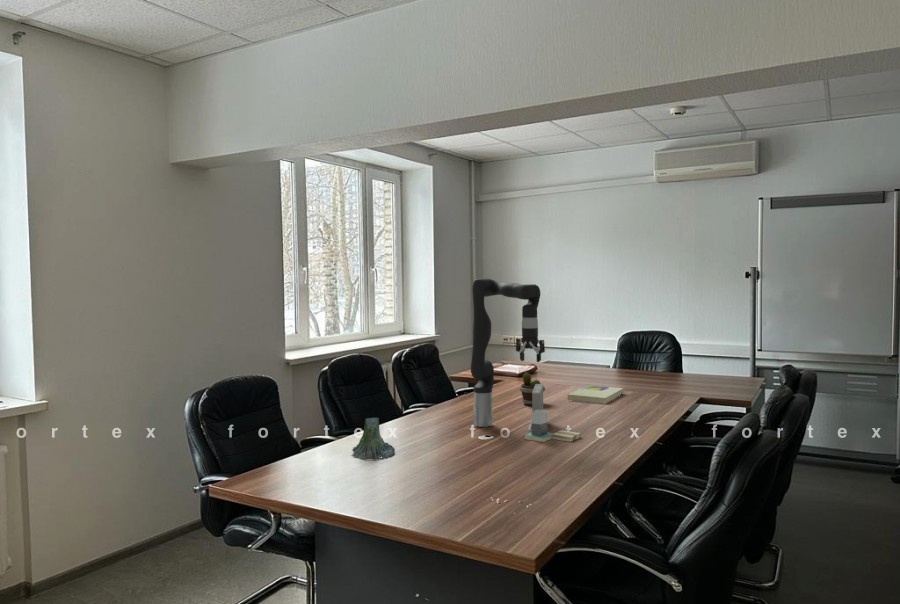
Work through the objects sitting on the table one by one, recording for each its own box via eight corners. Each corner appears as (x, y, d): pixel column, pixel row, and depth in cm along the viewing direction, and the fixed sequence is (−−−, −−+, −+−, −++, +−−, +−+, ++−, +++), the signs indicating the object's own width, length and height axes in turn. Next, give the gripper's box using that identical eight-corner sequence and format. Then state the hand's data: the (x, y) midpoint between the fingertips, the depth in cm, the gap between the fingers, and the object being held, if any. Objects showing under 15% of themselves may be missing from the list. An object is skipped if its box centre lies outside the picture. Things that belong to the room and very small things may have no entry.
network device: (545, 433, 307) (544, 392, 306) (527, 433, 309) (526, 392, 308) (547, 421, 332) (547, 383, 331) (531, 421, 334) (530, 383, 333)
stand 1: (543, 442, 292) (543, 437, 291) (524, 439, 298) (524, 434, 297) (554, 437, 299) (554, 433, 299) (535, 434, 306) (535, 430, 305)
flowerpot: (549, 403, 379) (548, 369, 379) (538, 407, 367) (537, 373, 366) (527, 400, 387) (526, 368, 386) (515, 405, 374) (515, 371, 374)
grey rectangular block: (541, 436, 294) (540, 412, 294) (531, 434, 297) (531, 411, 297) (547, 433, 299) (546, 410, 299) (537, 432, 302) (537, 409, 302)
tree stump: (353, 463, 266) (350, 419, 270) (352, 461, 285) (349, 421, 289) (397, 457, 270) (393, 414, 273) (393, 456, 289) (389, 416, 292)
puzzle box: (567, 401, 386) (605, 405, 373) (566, 394, 386) (605, 397, 373) (588, 392, 416) (624, 395, 403) (588, 385, 416) (624, 387, 403)
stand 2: (570, 441, 291) (570, 437, 291) (551, 438, 297) (551, 434, 297) (580, 437, 299) (580, 433, 299) (561, 434, 305) (561, 430, 305)
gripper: (547, 326, 297) (547, 361, 298) (520, 325, 306) (521, 359, 307) (539, 328, 291) (539, 363, 292) (512, 327, 300) (513, 361, 301)
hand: (530, 361), depth 299 cm, fingers open, 8 cm apart
